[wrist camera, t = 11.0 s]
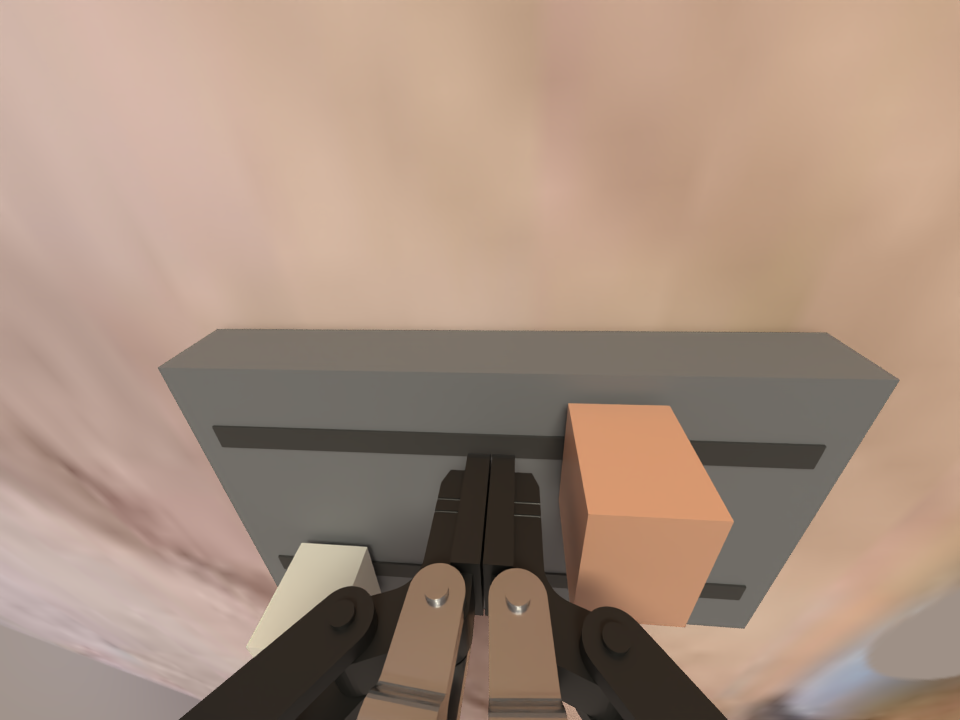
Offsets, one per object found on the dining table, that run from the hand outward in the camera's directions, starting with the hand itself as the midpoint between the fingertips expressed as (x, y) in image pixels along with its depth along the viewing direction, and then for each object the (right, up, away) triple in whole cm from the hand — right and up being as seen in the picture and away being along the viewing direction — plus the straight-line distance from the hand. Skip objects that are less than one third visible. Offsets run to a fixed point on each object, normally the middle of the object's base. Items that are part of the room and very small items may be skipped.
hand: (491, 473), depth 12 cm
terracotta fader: (+4, 0, +1) cm, 4 cm away
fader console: (+1, -1, +6) cm, 6 cm away
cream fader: (-7, -6, +6) cm, 11 cm away
